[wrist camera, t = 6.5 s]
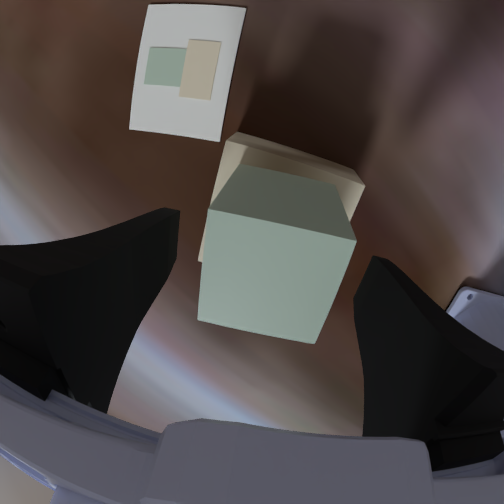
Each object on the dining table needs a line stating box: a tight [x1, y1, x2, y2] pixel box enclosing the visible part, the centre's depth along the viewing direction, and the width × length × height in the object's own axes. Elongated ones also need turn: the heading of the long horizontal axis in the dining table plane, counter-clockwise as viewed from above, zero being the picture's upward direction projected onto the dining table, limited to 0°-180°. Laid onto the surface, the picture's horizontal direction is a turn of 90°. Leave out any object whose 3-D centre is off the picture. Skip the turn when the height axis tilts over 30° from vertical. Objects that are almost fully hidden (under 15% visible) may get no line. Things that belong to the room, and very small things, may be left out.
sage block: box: [197, 164, 357, 344], centre depth 11 cm, size 4×4×5 cm
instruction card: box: [129, 4, 246, 142], centre depth 13 cm, size 5×7×1 cm
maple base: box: [198, 132, 365, 262], centre depth 15 cm, size 6×6×3 cm
